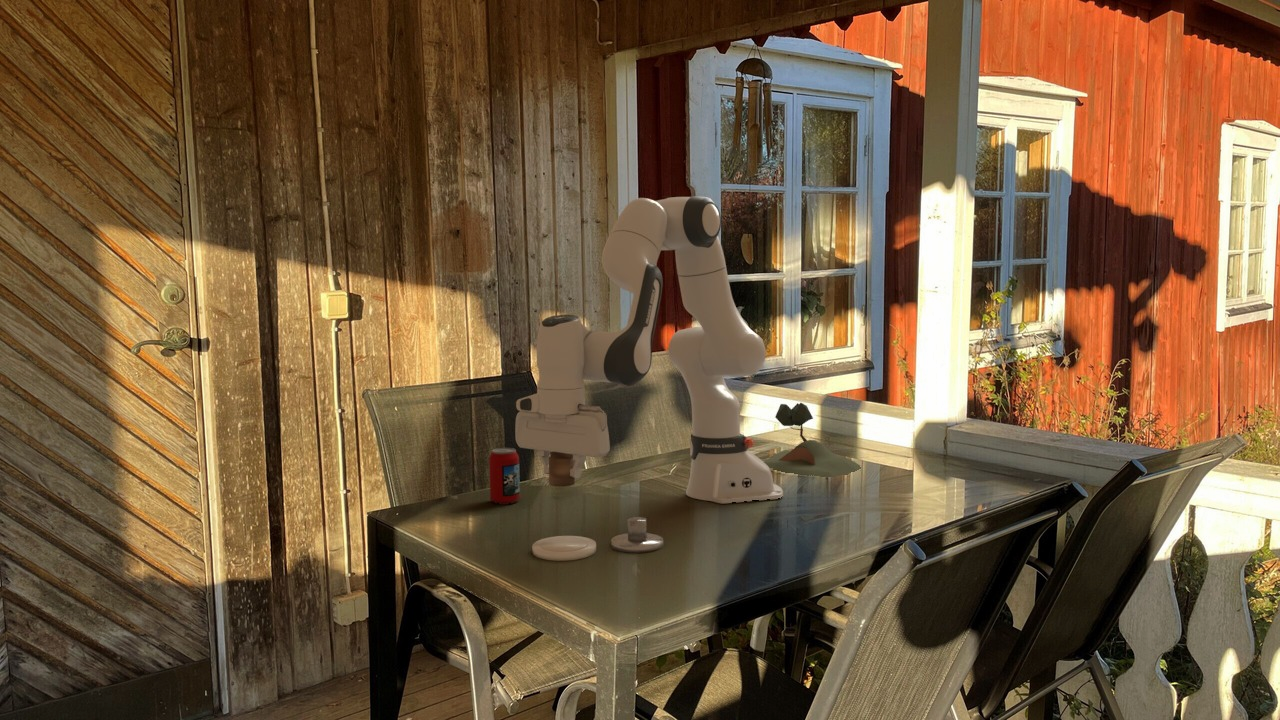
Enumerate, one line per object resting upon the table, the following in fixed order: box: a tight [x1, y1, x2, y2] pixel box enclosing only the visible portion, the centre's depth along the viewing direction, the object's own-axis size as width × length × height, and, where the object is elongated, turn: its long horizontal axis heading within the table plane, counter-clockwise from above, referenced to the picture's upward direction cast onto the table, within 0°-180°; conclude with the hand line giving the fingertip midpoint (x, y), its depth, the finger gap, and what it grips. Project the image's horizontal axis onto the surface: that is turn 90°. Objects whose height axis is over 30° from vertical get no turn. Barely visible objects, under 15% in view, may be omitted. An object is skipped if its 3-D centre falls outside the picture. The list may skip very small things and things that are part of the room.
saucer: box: [532, 535, 597, 562], centre depth 180 cm, size 12×12×1 cm
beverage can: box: [488, 447, 521, 505], centre depth 218 cm, size 7×7×12 cm
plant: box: [763, 402, 862, 477], centre depth 254 cm, size 29×35×18 cm
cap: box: [548, 452, 576, 487], centre depth 178 cm, size 5×5×6 cm
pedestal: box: [610, 516, 664, 554], centre depth 183 cm, size 10×10×5 cm
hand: (562, 475), depth 178 cm, fingers closed on cap, 5 cm apart
